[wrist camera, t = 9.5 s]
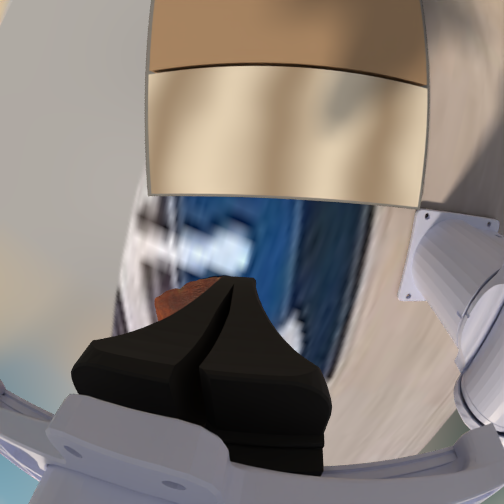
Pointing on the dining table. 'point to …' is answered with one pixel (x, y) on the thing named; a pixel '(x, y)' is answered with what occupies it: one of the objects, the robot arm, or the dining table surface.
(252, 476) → the robot arm
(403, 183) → the ash plank
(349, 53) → the floor base
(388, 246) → the dining table surface
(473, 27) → the dining table surface
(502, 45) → the dining table surface
